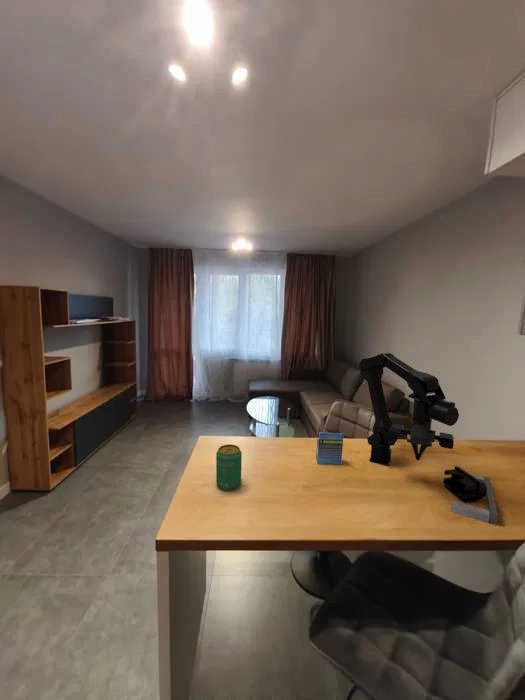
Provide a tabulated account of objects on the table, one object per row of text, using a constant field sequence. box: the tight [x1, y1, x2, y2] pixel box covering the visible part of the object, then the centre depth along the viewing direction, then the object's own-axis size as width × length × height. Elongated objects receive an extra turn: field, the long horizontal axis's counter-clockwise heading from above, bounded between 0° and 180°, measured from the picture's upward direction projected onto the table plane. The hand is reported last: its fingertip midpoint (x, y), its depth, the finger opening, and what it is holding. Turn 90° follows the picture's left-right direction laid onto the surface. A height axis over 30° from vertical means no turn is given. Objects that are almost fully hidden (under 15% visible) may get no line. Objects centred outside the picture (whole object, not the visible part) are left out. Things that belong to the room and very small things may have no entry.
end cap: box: [443, 465, 487, 504], centre depth 103 cm, size 10×7×7 cm
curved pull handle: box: [450, 474, 499, 526], centre depth 101 cm, size 11×22×3 cm, turn 150°
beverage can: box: [215, 444, 243, 491], centre depth 105 cm, size 8×8×12 cm
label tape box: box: [315, 431, 344, 466], centre depth 121 cm, size 9×4×12 cm, turn 89°
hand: (417, 459), depth 108 cm, fingers closed
